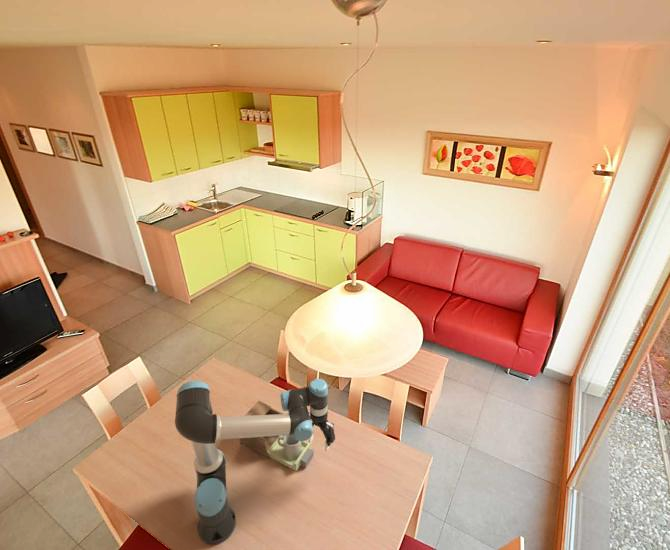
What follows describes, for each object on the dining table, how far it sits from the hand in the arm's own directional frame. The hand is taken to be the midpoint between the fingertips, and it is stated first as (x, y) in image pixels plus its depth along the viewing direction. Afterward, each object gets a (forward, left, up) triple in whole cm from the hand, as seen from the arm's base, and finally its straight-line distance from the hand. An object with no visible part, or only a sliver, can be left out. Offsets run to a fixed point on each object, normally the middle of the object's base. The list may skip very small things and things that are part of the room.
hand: (319, 444), depth 177 cm
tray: (0, +16, -17) cm, 23 cm away
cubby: (0, +33, -17) cm, 37 cm away
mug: (-1, +17, -16) cm, 23 cm away
